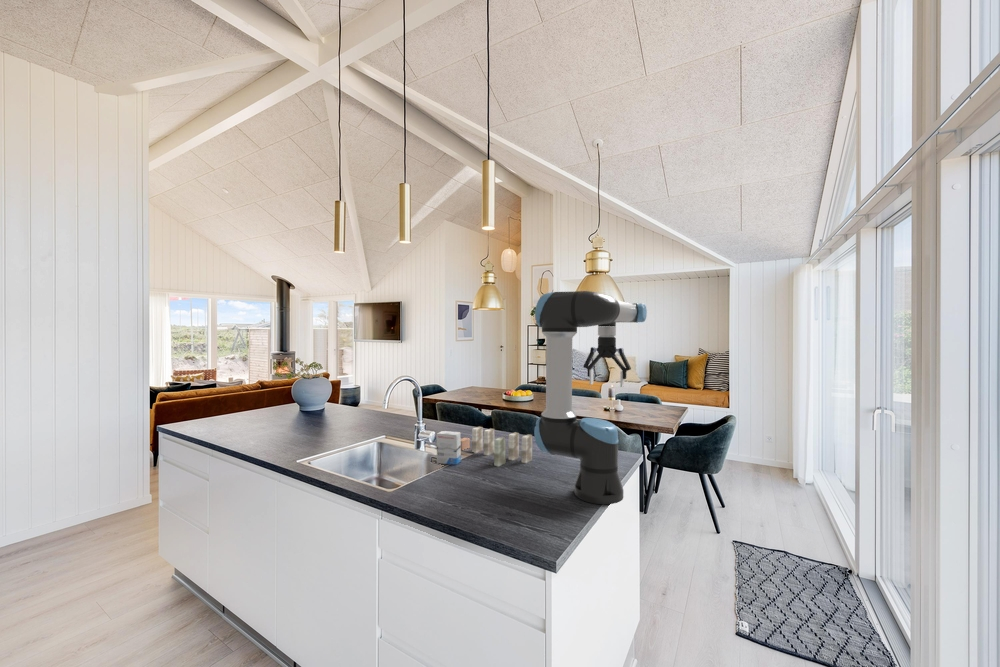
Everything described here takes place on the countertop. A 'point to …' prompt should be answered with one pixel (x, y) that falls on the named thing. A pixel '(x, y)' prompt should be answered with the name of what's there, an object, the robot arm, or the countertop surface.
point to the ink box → (448, 447)
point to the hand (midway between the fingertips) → (606, 385)
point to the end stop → (465, 443)
